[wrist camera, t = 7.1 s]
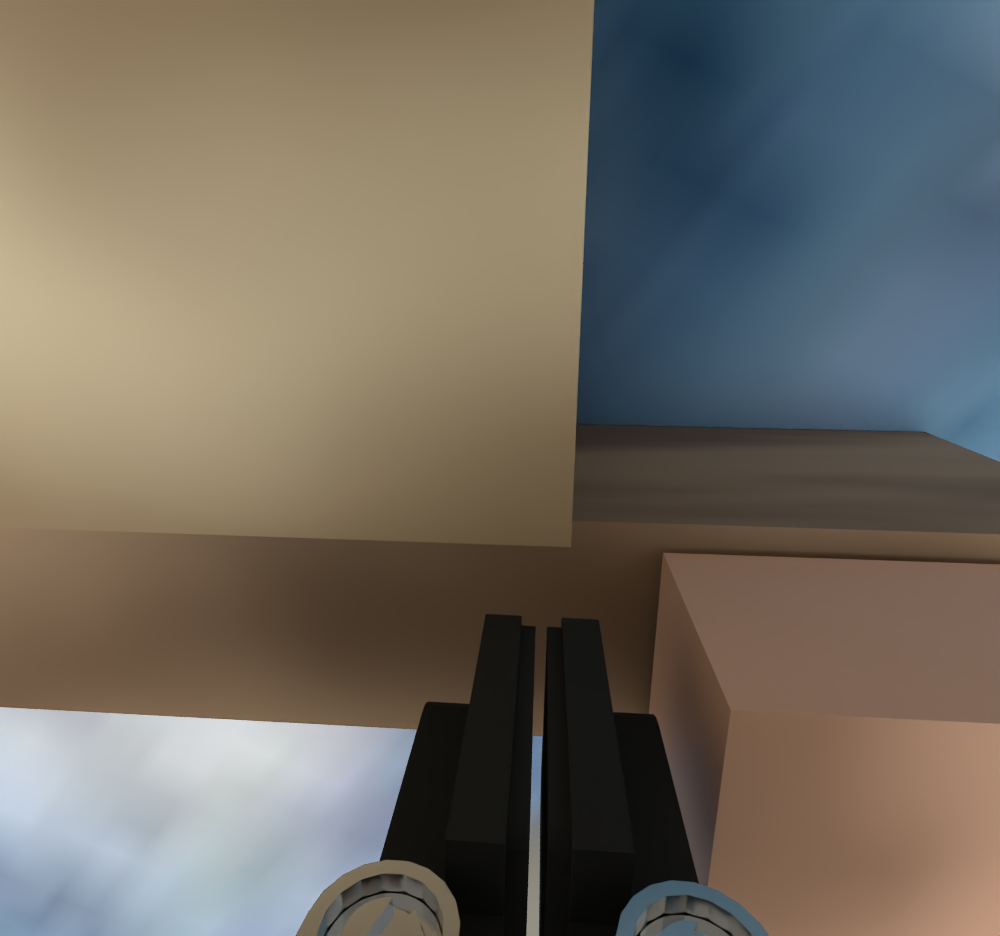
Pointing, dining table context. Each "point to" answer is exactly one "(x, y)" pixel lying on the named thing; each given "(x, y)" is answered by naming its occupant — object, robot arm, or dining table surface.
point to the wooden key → (836, 738)
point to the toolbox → (462, 579)
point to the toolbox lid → (293, 266)
